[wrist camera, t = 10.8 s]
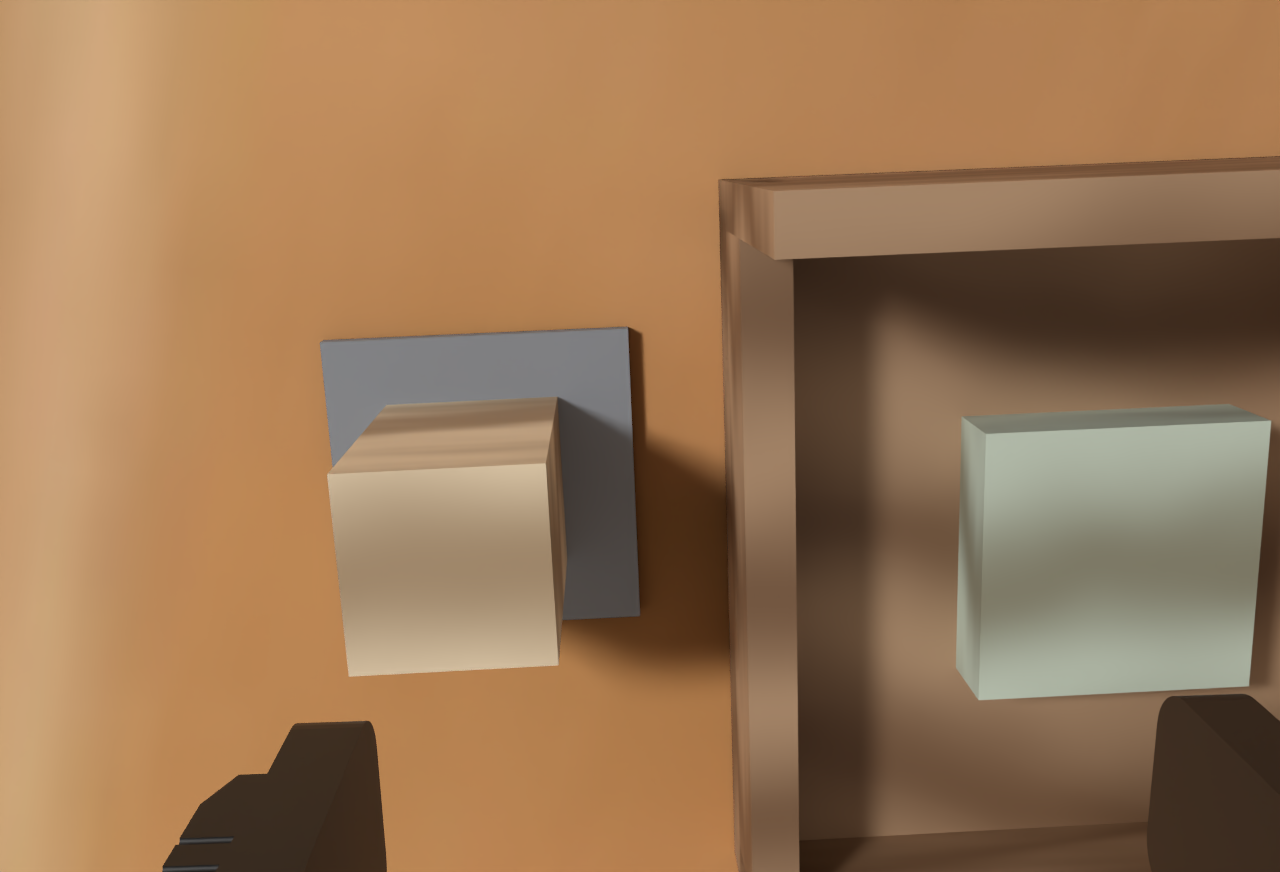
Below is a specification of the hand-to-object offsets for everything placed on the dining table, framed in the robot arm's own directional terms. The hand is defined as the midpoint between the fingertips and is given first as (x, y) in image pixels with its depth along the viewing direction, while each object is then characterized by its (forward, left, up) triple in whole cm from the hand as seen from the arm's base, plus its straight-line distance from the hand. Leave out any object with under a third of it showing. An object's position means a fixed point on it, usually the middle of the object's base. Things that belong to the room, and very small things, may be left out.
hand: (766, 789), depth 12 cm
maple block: (+2, -5, -20) cm, 21 cm away
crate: (+4, +11, -20) cm, 24 cm away
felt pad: (+2, -5, -20) cm, 21 cm away
